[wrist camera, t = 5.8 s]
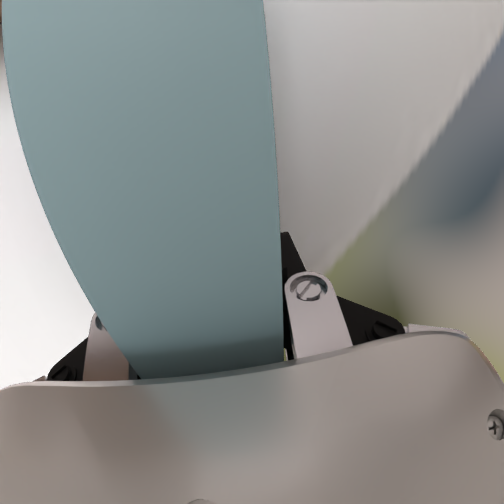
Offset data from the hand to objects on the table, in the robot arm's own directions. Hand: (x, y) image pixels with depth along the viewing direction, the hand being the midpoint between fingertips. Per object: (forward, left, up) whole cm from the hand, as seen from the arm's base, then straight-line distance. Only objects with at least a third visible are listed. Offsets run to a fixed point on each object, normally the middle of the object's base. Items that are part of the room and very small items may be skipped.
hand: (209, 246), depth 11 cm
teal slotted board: (0, -4, -3) cm, 5 cm away
